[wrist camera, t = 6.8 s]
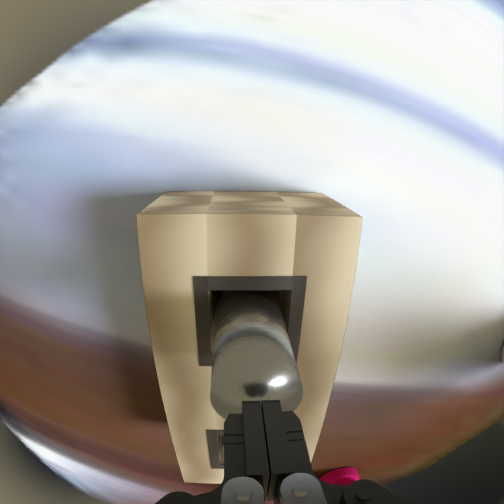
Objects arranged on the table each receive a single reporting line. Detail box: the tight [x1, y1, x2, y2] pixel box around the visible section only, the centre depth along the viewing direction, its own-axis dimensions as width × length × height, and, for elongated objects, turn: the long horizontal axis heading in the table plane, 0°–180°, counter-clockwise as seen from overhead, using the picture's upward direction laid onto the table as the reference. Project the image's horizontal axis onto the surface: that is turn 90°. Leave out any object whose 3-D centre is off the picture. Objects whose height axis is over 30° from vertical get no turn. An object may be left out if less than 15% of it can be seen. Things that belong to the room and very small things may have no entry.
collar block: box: [136, 191, 363, 484], centre depth 24 cm, size 12×26×8 cm, turn 179°
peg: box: [210, 290, 303, 419], centre depth 16 cm, size 4×4×8 cm
